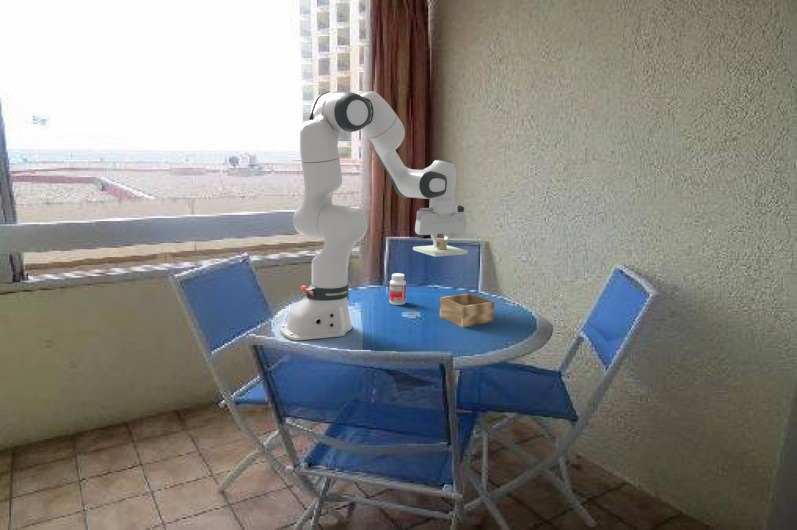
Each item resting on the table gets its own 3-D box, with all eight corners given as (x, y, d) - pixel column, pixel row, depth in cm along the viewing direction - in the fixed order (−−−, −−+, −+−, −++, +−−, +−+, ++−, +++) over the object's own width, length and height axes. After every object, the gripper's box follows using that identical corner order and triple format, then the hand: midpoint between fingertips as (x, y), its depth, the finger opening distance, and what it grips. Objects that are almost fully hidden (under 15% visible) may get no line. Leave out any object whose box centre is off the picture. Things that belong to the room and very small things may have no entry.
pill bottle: (398, 300, 196) (399, 272, 194) (408, 303, 192) (409, 275, 190) (385, 302, 193) (386, 274, 190) (396, 306, 188) (396, 277, 186)
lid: (435, 256, 174) (435, 243, 173) (412, 250, 185) (413, 237, 184) (467, 253, 181) (468, 240, 180) (444, 247, 192) (444, 235, 191)
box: (462, 327, 166) (463, 306, 165) (439, 316, 177) (440, 297, 175) (493, 322, 173) (494, 302, 171) (469, 311, 183) (470, 293, 182)
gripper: (422, 208, 172) (420, 249, 175) (470, 207, 182) (467, 245, 185) (412, 207, 177) (410, 246, 180) (459, 205, 187) (457, 243, 190)
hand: (440, 246), depth 182 cm, fingers closed on lid
